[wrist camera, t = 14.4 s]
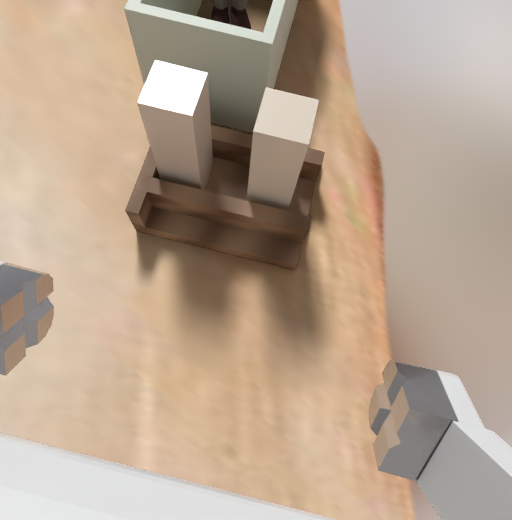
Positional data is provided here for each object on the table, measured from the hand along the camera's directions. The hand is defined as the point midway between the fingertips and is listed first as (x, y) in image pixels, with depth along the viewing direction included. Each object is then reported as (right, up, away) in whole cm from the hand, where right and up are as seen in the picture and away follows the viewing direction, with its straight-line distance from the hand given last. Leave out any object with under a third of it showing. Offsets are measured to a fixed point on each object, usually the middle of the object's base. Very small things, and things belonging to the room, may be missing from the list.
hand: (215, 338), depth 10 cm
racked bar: (-6, +10, +31) cm, 33 cm away
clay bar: (+2, +8, +30) cm, 32 cm away
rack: (-2, +9, +32) cm, 33 cm away
